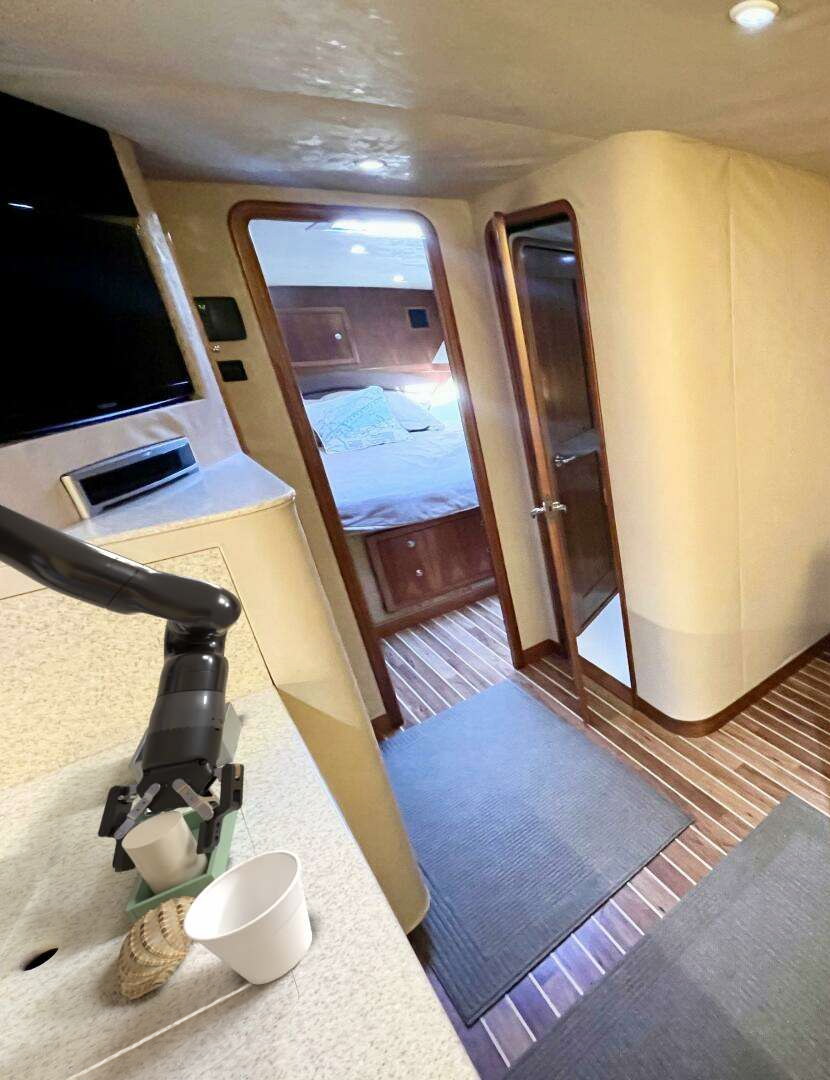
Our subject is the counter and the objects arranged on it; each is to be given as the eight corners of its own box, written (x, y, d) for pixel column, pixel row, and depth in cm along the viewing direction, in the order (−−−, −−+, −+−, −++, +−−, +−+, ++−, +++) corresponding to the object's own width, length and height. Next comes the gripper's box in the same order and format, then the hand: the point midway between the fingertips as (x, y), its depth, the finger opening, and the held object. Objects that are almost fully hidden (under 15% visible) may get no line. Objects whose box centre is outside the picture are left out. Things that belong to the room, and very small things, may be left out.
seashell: (227, 960, 64) (198, 891, 68) (213, 945, 60) (183, 873, 64) (137, 1021, 58) (111, 943, 62) (115, 1009, 55) (89, 926, 59)
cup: (229, 949, 62) (189, 885, 58) (329, 895, 68) (300, 834, 64) (220, 1030, 55) (174, 963, 51) (334, 962, 60) (301, 898, 56)
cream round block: (153, 913, 66) (115, 857, 63) (164, 879, 71) (128, 825, 67) (209, 888, 69) (176, 832, 65) (216, 857, 73) (186, 803, 70)
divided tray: (137, 931, 65) (124, 912, 64) (168, 840, 77) (157, 822, 76) (222, 892, 69) (211, 874, 68) (239, 812, 81) (230, 795, 80)
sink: (143, 793, 85) (127, 766, 83) (161, 751, 94) (147, 727, 92) (233, 761, 91) (220, 735, 89) (242, 725, 100) (230, 701, 98)
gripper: (99, 739, 68) (68, 883, 62) (227, 715, 71) (210, 850, 65) (147, 742, 75) (124, 872, 69) (263, 721, 78) (250, 844, 72)
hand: (166, 861), depth 67 cm, fingers open, 8 cm apart
